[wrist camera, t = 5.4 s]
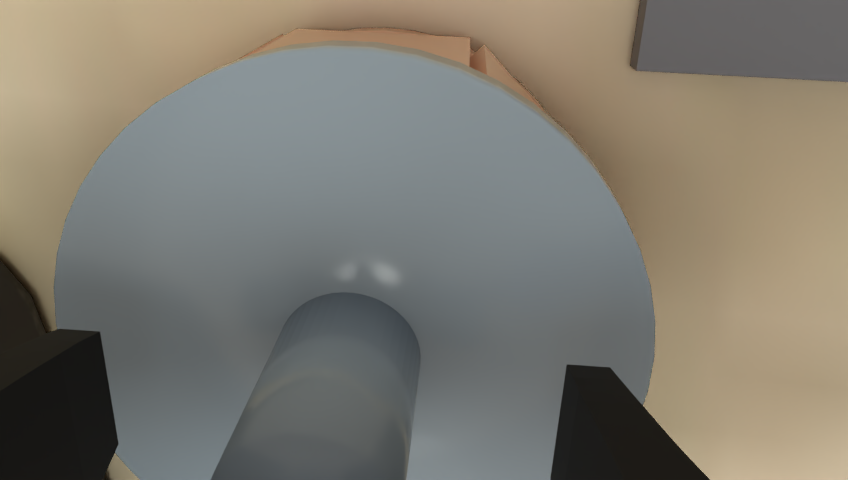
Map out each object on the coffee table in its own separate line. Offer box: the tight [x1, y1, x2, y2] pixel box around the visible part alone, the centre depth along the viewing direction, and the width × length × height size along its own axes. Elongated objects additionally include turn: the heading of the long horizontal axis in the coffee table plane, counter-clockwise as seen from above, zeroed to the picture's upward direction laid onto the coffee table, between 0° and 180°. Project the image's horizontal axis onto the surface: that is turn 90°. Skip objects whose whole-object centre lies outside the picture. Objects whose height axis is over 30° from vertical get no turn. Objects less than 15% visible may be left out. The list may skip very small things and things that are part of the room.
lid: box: [54, 40, 655, 480], centre depth 11 cm, size 10×10×4 cm
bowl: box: [239, 28, 548, 115], centre depth 15 cm, size 9×9×4 cm
